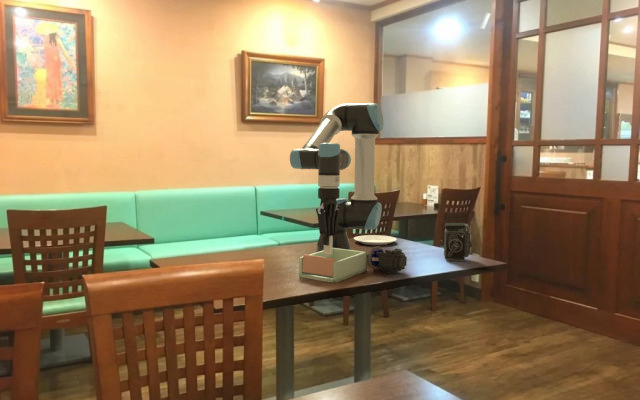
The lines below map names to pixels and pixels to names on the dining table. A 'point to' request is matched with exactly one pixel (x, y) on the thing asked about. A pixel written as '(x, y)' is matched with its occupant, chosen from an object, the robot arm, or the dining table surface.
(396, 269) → the toy
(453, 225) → the camera
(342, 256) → the tray
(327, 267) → the panel
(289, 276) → the dining table surface
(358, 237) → the plate
